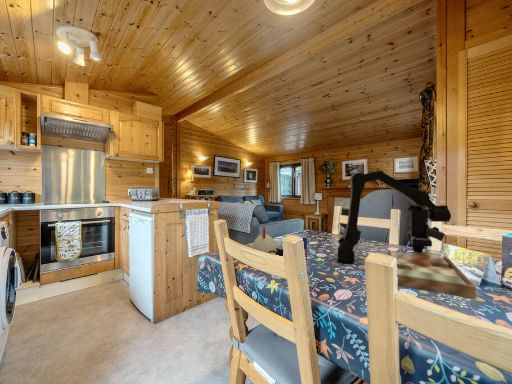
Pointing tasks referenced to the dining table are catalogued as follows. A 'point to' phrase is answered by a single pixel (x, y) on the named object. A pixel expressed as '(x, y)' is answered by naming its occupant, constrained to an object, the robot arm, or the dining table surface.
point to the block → (421, 258)
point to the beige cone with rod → (264, 243)
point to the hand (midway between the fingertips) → (418, 258)
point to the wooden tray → (433, 276)
